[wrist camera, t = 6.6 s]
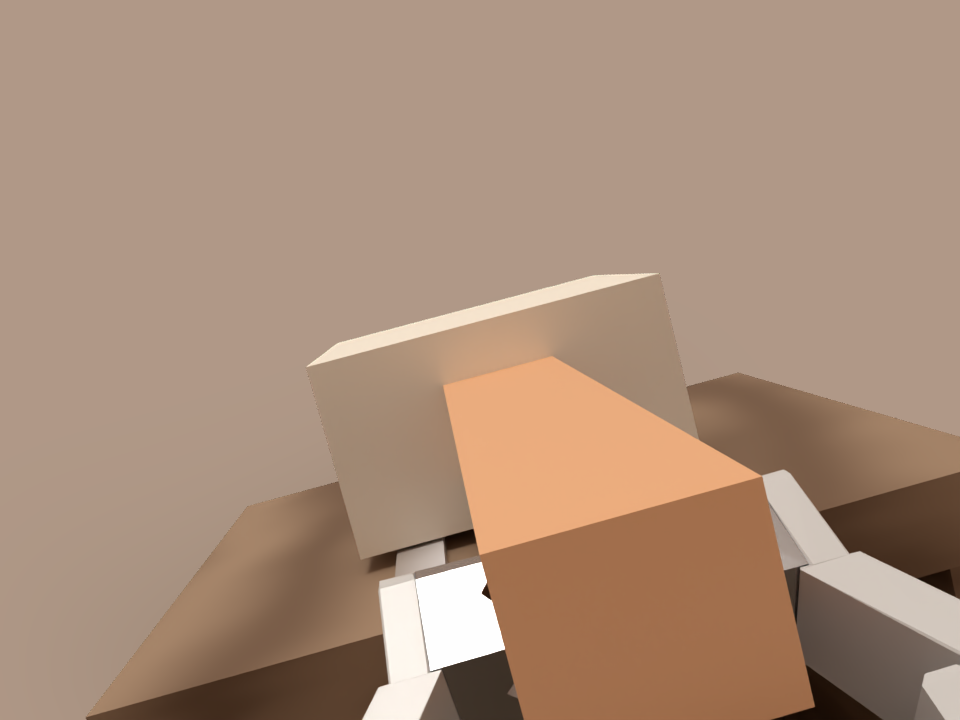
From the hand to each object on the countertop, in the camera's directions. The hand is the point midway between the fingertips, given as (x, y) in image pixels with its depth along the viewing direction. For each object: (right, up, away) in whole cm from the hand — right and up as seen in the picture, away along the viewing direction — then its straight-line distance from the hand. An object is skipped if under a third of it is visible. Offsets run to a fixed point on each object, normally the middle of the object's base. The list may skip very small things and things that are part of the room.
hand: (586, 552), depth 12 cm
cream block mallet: (0, -1, +7) cm, 7 cm away
